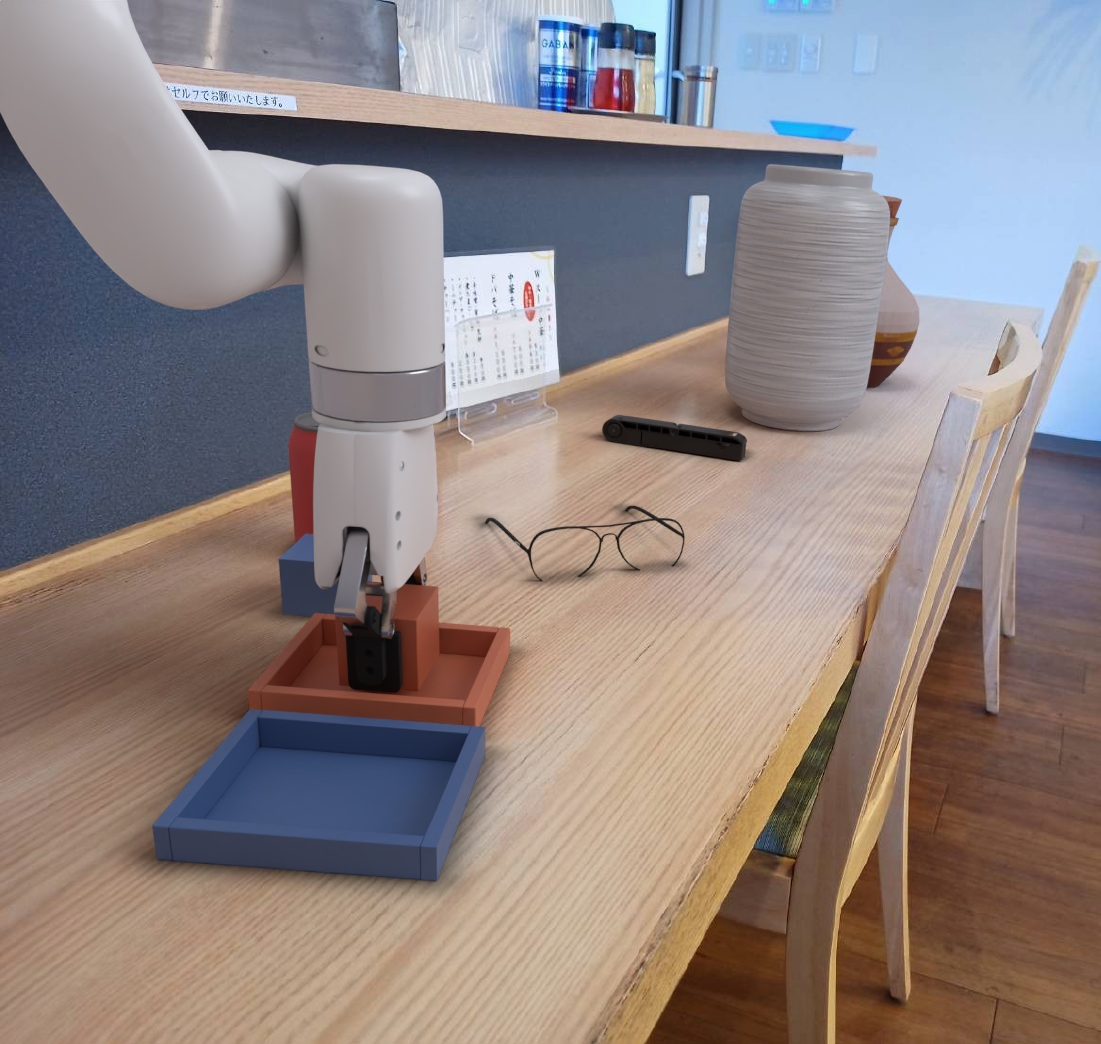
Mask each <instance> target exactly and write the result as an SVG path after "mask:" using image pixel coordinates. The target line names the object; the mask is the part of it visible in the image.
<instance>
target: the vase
mask: <svg viewBox="0 0 1101 1044" xmlns="http://www.w3.org/2000/svg"><path fill="white" fill-rule="evenodd" d="M873 181H874V174H873V173H872V172H870V171H869V172H868V171H858V170H848V169H847V170H846V169H835V168H823V167H812V166H800V165H786V164H773V163H770V164H767V165H766V167H765V176H764V180H762V181H758V182H756V183H754V184H752V185H751V186H750V187H748V189H747V190H746V191H745V193H744V194H743V197H742V199H741V203H740V207H739V215H738V220H737V229H736V238H735V247H734V256H733V267H732V277H731V289H730V300H729V310H728V311H729V312H728V323H727V336H726V349H725V363H724V364H725V367H724V381H725V383H724V384H725V388H726V390H727V393H728V395H729V398H730V399H731V400H732V401H733V402H734V403H735V404H736V405H737V406H738V407H739V408H741V414H742V416H743V417H744V418H745V419H747V420H748V421H750V422H752V423H755V424H758V425H761V426H764V427H768V428H772V429H778V430H786V431H793V432H794V431H795V432H822V431H828V430H829V431H830V430H833V429H835V428H838V427H839V426H840V425H841V424H842V421H843V419H844V418H847V417H849V416H850V415H851V414H853V413H855V411H857V409H858V408H859V407H860V405H862V402H863V401H864V399H865V396H866V392H867V389H868V388H867V384H868V378H869V373H870V367H871V361H872V354H873V348H874V341H875V335H876V328H877V321H878V314H879V307H880V300H881V292H882V285H883V278H884V270H885V262H886V255H887V256H888V253H887V247H888V237H889V226H890V210H889V206H888V203H887V201H886V200H885V198H884V197H883V196H884V195H882V194H880V193H879V192H877V191H875V190H873ZM888 248H889V247H888Z"/></svg>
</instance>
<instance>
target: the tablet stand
mask: <svg viewBox="0 0 1101 1044" xmlns="http://www.w3.org/2000/svg"><path fill="white" fill-rule="evenodd" d="M601 431H602V432H601V433H602V435H603V437H604V438H605V439H606V440H607V441H608V442H611V443H618V444H619V443H620V444H625V445H630V446H639V447H643V448H644V447H645V448H649V447H650V448H656V449H662V450H668V451H673V452H675V451H676V452H681V453H688V454H693V455H694V454H695V455H700V456H707V457H713V458H719V459H726V460H732V461H743V460H744V458H746V451H747V443H748V440H747V437H746V436H745V435H744V434H742V433H740V432H739V431H738V432H737V431H731V430H726V429H719V428H712V427H706V426H701V425H700V426H699V425H692V424H685V423H678V424H677V423H676V422H674V421H667V420H660V419H653V418H645V417H638V416H631V415H625V414H624V415H623V414H616V415H614V416H612V417H611V418H609V419H607V420H606V421H604V423H603V424H602V427H601Z"/></svg>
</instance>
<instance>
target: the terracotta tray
mask: <svg viewBox="0 0 1101 1044" xmlns="http://www.w3.org/2000/svg"><path fill="white" fill-rule="evenodd" d="M510 653H511V629H510V627H501V626H500V627H499V626H491V625H490V626H489V625H479V624H478V625H476V624H466V623H465V624H463V623H451V622H450V623H449V622H440V621H439V655H438V657H437V659H436V661H435V663H434V664H433V666H432V668H431V670H430V672H429V673H428V675H427V677H426V679H425V681H424V683H423V684H422V686H421V688H420V690H419V691H406V690H399V691H398V692H396V693H392V692H379V691H365V690H354V689H352V688H350V687H349V686H340V685H339V673H338V657H337V640H336V624H335V615H334V614H322V613H315V614H314V615H313V616H312V617H310V618H309V619H308V621H307V622H306V623H304V625H303V626H302V627H301V628H300V630H299V631H297V633H296V634H295V635H294V637H292V639H290V640H289V642H288V643H287V645H285V647H284V648H283V649H282V650H281V651H280V652H279V654H278V655H277V656H276V657H275V658H274V660H273V661H272V662H271V663H270V664H269V665H268V666H267V667H266V669H264V671H263V672H262V673H261V674H260V675H259V677H258V678H257V679H256V680H255V681H254V682H253V684H252V685H251V686H250V687H249V688H248V689H247V698H248V711H249V710H250V709H255V710H271V711H284V712H297V713H310V714H323V715H336V716H349V717H362V718H375V719H388V720H401V721H414V722H427V723H440V724H453V725H466V726H471V727H472V726H480V727H481V724H482V722H483V720H484V717H485V715H486V712H487V710H488V708H489V705H490V703H491V701H492V698H493V696H494V694H495V693H494V692H495V691H496V689H497V686H498V683H499V681H500V679H501V677H502V673H503V671H504V669H505V667H506V664H507V662H508V659H509V656H510Z"/></svg>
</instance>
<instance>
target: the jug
mask: <svg viewBox="0 0 1101 1044" xmlns="http://www.w3.org/2000/svg"><path fill="white" fill-rule="evenodd" d="M882 196H883V197H884V198H885V200H886V201H887V203H888V206H889V210H890V226H889V237H888V247H887V255H886V262H885V270H884V278H883V285H882V292H881V300H880V307H879V314H878V321H877V328H876V335H875V341H874V348H873V354H872V361H871V367H870V373H869V378H868V384H867V389H868V388H877V387H880V385H881V384H882V383H884V382H885V381H886V380H887V379H888V378H889V377H890V376H891V375H892V374H893V373H894V371H896V370H897V369H898V368H899V367H900V365H902V364H903V363H904V361H905V360H906V357H907V356H908V354H909V352H910V351H911V349H912V346H913V343H914V341H915V339H916V337H917V334H918V329H919V326H920V322H921V321H920V308H919V305H918V303H917V300H916V297H915V295H914V294H913V293H912V292H911V290H910V288H908V286H907V285H906V284H905V282H904V281H903V280H902V279H901V277H899V275H898V273H897V272H896V271H895V269H894V268H893V267H892V265H891V264H890V262H889V258H888V252H889V247H890V242H891V239H892V236H893V232H894V230H895V227H896V226H897V225H898V223H899V220H900V218H899V217H897V214H898V211H899V209H900V207H901V204H902V202H903V199H902V198H899V197H895V196H889V195H882Z"/></svg>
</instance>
